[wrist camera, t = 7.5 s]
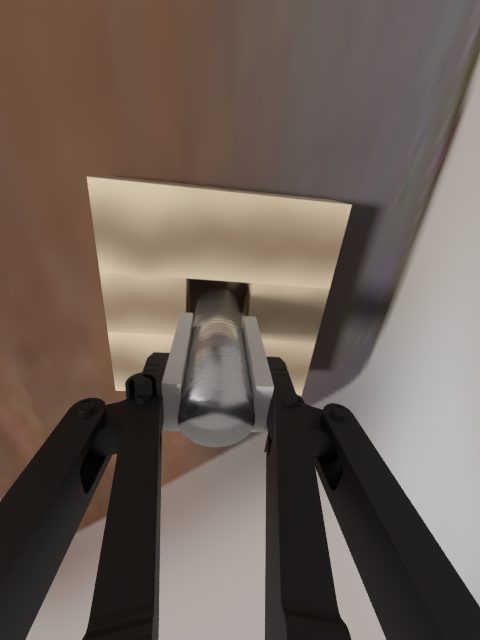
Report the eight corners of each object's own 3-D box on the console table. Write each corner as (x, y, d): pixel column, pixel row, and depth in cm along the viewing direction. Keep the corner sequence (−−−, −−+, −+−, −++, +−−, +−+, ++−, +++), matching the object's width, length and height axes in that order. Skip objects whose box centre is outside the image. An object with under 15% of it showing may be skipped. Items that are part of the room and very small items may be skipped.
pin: (196, 286, 20) (177, 389, 11) (240, 289, 21) (260, 392, 11) (195, 325, 22) (177, 446, 12) (236, 327, 22) (250, 447, 12)
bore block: (110, 175, 20) (86, 176, 16) (330, 199, 21) (352, 204, 18) (129, 361, 27) (115, 390, 23) (291, 368, 29) (301, 396, 25)
